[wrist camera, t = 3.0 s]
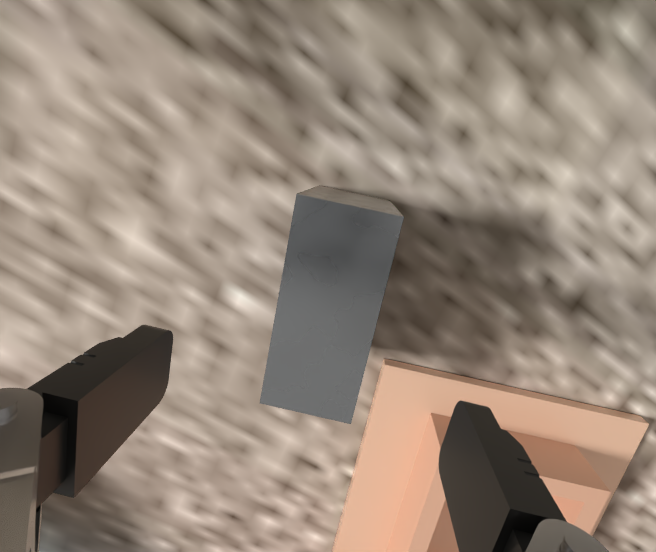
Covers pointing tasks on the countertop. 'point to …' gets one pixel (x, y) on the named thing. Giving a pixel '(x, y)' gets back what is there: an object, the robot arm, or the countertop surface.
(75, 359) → the robot arm
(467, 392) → the caddy
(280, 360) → the grey rectangular block
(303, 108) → the countertop surface
